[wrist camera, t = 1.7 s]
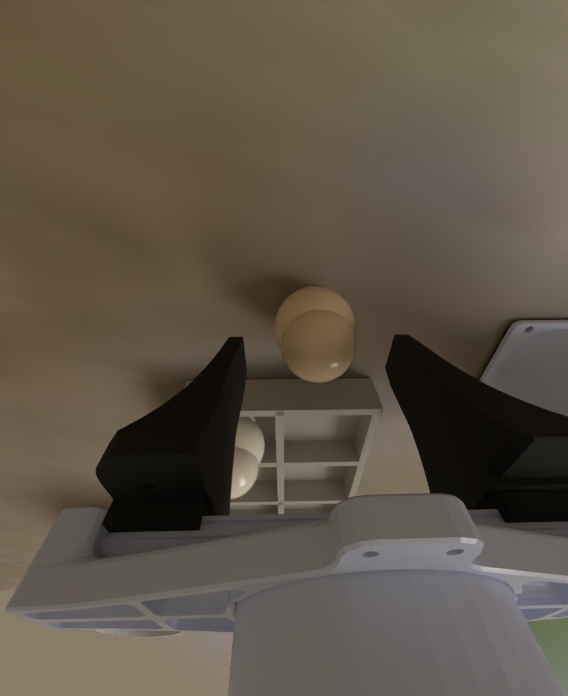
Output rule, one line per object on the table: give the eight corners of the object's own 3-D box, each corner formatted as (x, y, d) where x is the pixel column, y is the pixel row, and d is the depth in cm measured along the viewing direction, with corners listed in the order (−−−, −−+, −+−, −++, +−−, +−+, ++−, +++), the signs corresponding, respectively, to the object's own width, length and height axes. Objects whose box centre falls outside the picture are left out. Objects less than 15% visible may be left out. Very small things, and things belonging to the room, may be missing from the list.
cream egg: (264, 399, 21) (260, 477, 16) (266, 435, 23) (264, 511, 19) (205, 400, 21) (183, 478, 16) (214, 436, 23) (197, 512, 18)
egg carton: (371, 378, 21) (383, 409, 18) (339, 501, 33) (344, 530, 30) (186, 380, 21) (174, 411, 18) (222, 503, 33) (218, 532, 30)
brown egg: (350, 271, 16) (382, 328, 11) (341, 335, 19) (363, 402, 14) (274, 272, 16) (271, 329, 11) (275, 335, 18) (274, 404, 14)
